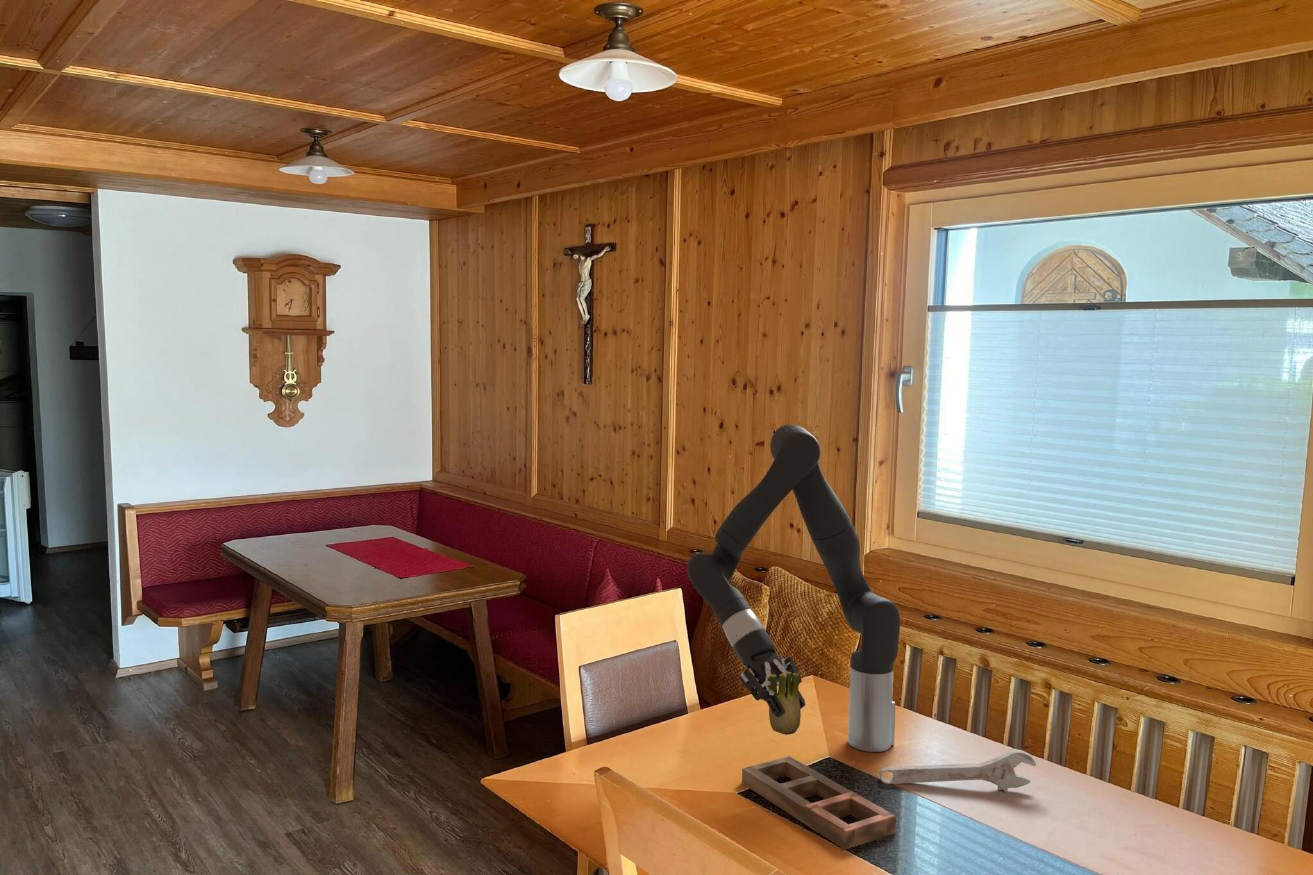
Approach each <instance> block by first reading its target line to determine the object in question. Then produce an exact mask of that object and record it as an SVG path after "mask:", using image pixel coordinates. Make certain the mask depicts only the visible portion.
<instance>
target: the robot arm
mask: <svg viewBox="0 0 1313 875" xmlns="http://www.w3.org/2000/svg"><path fill="white" fill-rule="evenodd" d="M769 445H770V447H769V448H770V454H771V456H772V458H773V462H772V463H771V465H770V467H769V469H768V470H767V472H766V474H765V475H764V477H763V478H762V479H761V480H760V482H759V483H758V484H757V485H756V486H755V487H754V488H753V489H752V490H751V491H750V492H749V493H748V494H747V495H745V496H744V497H743V498H742V499H740V501H739V502H738V503H736V505H735V507H733V509H732V510H731V511H730V512H729V514H728V516H726V518H725V519H724V520H723V522H722V524H721V525H720V526H719V528H718V529H717V531H716V533H715V535H714V539H715V542H716V545H715V547H714V549H713V550H712V552H711V553H706V552H701V553H696V554H694V555H692V556H691V558H690V559H689V561H688V563H687V565H686V566H687V567H686V570H687V576H688V579H689V581H690V583H691V584H692V587H693V588H694V590H696V592H697V593H698V594H699V595H700V596H701V598H702V599H703V600H704V601H705V603H706V604H707V605H708V607H710V608H711V609H712V612H713V613H714V615H715V617H716V619H717V620H718V623H720V625H721V628H722V629H723V632H724V633H725V636H726V638H727V640H728V642H729V644H730V645H731V647H732V649H733V651H734V652H735V654H736V655H737V658H738V659H739V662H741V664H742V666H743V667H746V668H745V669H744V670H743V671H742V672H741V673H740V674H739V675H738V678H739V680H740V681H741V683H742V684H743V685H744V686H745V688H746V689H747V690H748V693H749V694H751V696H752V697H753V698H754V700H755V701H761V700H762V701H763V702H766V703H767V705H768V708H769V707H770V709H771V710H772V712H773V714H774V715H776V717H780V716H782V715H783V714H784V713H785V710H784V708H783V706H782V705H781V703H780V701H779V700H778V698H777V696H776V695H774V691H773V688H772V686H771V682H770V675H772V674H775V675H776V678H777V687H778V686H779V676H780V674H782V673H783V674H785V675H786V672H791V681H792V675H793V673H797V674H799V675H800V673H799V670H798V668H797V665H796V662H795V661H794V659H793V657H792V656H790V655H788V656H787V657H786V658H781V657H780V656H779V655H778V654H777V653H776V650H775V648H776V647H775V646H776V645H775V644H774V642H773V641H772V639H771V637H770V636H769V634H768V632H767V631H766V629H765V627H764V626H763V624H762V622H761V621H760V619H759V617H758V616H757V614H755V613H754V611H753V610H752V608H751V606H750V605H749V604H748V601H747V600H746V598H745V596H744V595H743V594H742V593H741V591H740V590H739V589H737V588H736V587H734V586H732V584H731V583H730V582H729V581H730V580H731V579H732V578H733V575H734V574H735V571H736V569H737V567H738V565H739V563H740V561H741V559H742V556H743V553H744V551H745V550H746V549H747V547H748V546H749V545H750V543H751V542H752V541H753V540H754V538H755V536H756V535H757V534H758V532H759V531H760V529H761V528H762V527H763V525H764V524H765V523H766V521H767V520H768V519H769V517H770V516H771V515H772V513H773V512H774V511H775V510H776V508H778V506H779V505H780V504H781V503H782V501H783V500H784V499H785V498H786V497H787V496H788V495H789V494H790V493H791V491H792V492H793V494H794V496H795V500H796V502H797V505H798V508H799V512H800V513H801V516H802V519H803V521H804V525H805V527H806V529H807V532H808V534H809V536H810V538H811V541H812V543H813V545H814V548H815V549H816V551H817V553H818V555H819V558H820V560H821V561H822V563H823V566H824V568H825V570H826V572H827V574H828V576H829V578H830V579H831V582H832V584H833V587H834V589H835V592H836V594H837V597H838V600H839V603H840V607H841V609H842V613H843V615H844V618H845V620H846V623H847V624H848V626H849V627H850V628H851V629H852V630H853V631H855V632H856V633H858V634H860V635H862V636H861V637H862V638H861V646H860V649H858V650H855V651H853V652H852V653H851V654H850V661H849V662H850V664H849V695H848V696H849V700H848V701H849V702H848V735H847V736H848V737H847V738H848V740H847V742H848V745H849V746H850V747H852V748H854V749H857V750H859V751H864V752H869V753H881V752H885V751H888V750H889V749H890V748H891V746H893V745H895V737H896V736H895V732H896V729H895V728H896V727H895V726H896V706H897V704H896V703H895V701H893V691H894V689H893V687H894V664H895V662H896V659H897V656H898V652H899V642H900V632H901V615H900V611H899V609H898V607H897V605H896V604H895V603H894V602H893V601H891V600H890V599H888V598H885V597H883V596H879V595H878V594H875V593H874V592H873V590H872V588H871V587H870V585H869V584H868V582H867V579H866V578H865V575H864V574H863V571H862V568H861V567H862V566H861V545H860V539H859V536H858V533H857V531H856V529H855V527H854V525H853V523H852V519H851V518H850V517H849V514H848V512H847V510H846V509H845V507H844V505H843V503H842V502H841V501H840V499H839V497H838V496H837V494H836V493H835V491H834V490H833V488H832V487H831V486H830V484H829V483H828V480H826V479H827V478H825V475H824V474H823V471H822V468H821V466H820V463H819V460H820V457H821V445H820V443H819V441H818V440H817V439H816V437H815V436H814V435H813V434H811V432H809V431H808V430H807V429H805V428H804V427H802V426H800V425H796V424H784V425H782V426H779V427H778V428H777V429H776V430H775V432H773V435H772V436H771V440H770V444H769ZM802 682H803V680H802V677H801V676H800V677H799V685H800V684H801V683H802ZM785 689H786V685H785ZM798 696H799V703H800V710H802V709H803V708H804V707H805V706H806V700H805V698H804V697H803V695H802V693H801V692H800V690H799V689H798Z"/></svg>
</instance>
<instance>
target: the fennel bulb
mask: <svg viewBox="0 0 1313 875" xmlns="http://www.w3.org/2000/svg"><path fill="white" fill-rule="evenodd" d="M799 677H801V675H800V673H799V674H797V673H793V675H792V681H791V672H786V675H785V674H783V673H782V674H780V676H779V686H778V685H777V678H776V675H775V674H772V675H770V682H771V686H772V688H773V691H774V695H776V696H777V698H778V700H779V701H780V703H781V705H782V706H783V708H784V710H785V713H784V714H783V715H782V716H780V717H776V715H774V714H773V712H772V710H771V709H770V707H769V706H768V715H769V724H770V727H771V729H772V730H773V732H776V733H778V734H782V735H785V736H788V735H793V734H796V733H797V731H798V730H799V729H800V726H801V717H802V716H801V715H802V713H801V712H802V711H801V710H802V709H800V703H799V696H798V690H799V686H800V684H799ZM785 685H786V689H785Z"/></svg>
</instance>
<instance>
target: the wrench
mask: <svg viewBox="0 0 1313 875" xmlns="http://www.w3.org/2000/svg"><path fill="white" fill-rule="evenodd" d="M1021 763H1024V764H1027V765H1030V766H1033V767H1034V768H1035V767H1036V766H1037V763H1036V761H1035V759H1034V758H1033V756H1032V755H1031V754H1030V753H1028V752H1026V751H1024V750H1023V749H1010V750H1008V751H1007V752H1004V753H1002V754H1001V755H998V756H996V757H994V758H992V759H989V760H985V761H982V762H980V763H962V764H961V763H957V764H956V763H955V764H953V763H952V764H931V765H928V764H926V765H925V764H924V765H923V764H922V765H902V766H900V765H899V766H894V765H893V766H884V767H882V768H880V771H879V780H880V782H882V783H883V784H889V785H900V784H901V785H902V784H915V783H916V784H917V783H936V782H937V783H938V782H955V781H956V782H957V781H958V782H959V781H962V782H963V781H984V782H989V783H991V784H993V785H996V786H997V788H996V789H997V790H998V791H1000V790H1002V791H1003V792H1004V793H1007V792H1008V789H1018V788H1021V787H1024V786H1025V787H1026V785H1029V784H1030V783H1031V779H1030V778H1029V777H1027V776H1024V775H1022V774H1018V773H1017V774H1016V772H1015V768H1017V767H1018V766H1019V765H1020V764H1021ZM885 772H888V773H891V774H892V777H891V778H889V779H886V778H884V776H882V775H883V774H884V773H885Z"/></svg>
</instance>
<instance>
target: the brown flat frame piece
mask: <svg viewBox="0 0 1313 875" xmlns="http://www.w3.org/2000/svg"><path fill="white" fill-rule="evenodd" d="M741 771H742V772H741V783H742V784H743V785H744V786H746V787H747V788H749V789H750V790H752V791H753V792H755V793H757V794H758V795H760V796H761V797H762V798H764V799H766V800H767V801H769V802H770V803H772V804H773V805H775V806H777V807H778V808H780V809H781V810H783V811H784V812H786V813H787V814H789V815H790V816H791V817H793V818H795V819H796V820H798V821H800V822H801V823H803V824H804V825H806V826H807V827H809V828H810V829H812V830H813V831H815V832H816V833H818V834H819V833H820V835H821V836H822V835H823V837H824V838H825V837H826V838H825V839H827V838H828V839H829V840H828V839H827V840H828V841H830V840H831V841H832V842H831V841H830V842H831V843H833V842H834V843H835V845H836V844H837V845H836V846H838V847H839V846H840V847H839V848H841V847H842V848H843V849H842V848H841V849H842V850H844V849H847V850H850V849H852V848H851V847H853V848H855V846H856V847H858V845H859V846H862V845H865V844H867V843H870V842H873V841H876V840H880V839H883V838H886V837H889V836H892V835H895V834H896V833H897V832H896V831H897V830H896V828H897V816H896V815H895V814H893V813H892V812H890V811H887V810H886V809H885V808H883V807H881V806H879V805H878V804H876V803H873V802H872V801H871V800H869V799H866V798H865V797H863V796H862V795H860V794H858V793H856V792H854V791H851V790H850V789H848V788H846V787H844V786H843V785H841V784H839V783H838V782H835V781H834V780H832V779H831V778H828V777H827V776H825V775H823V774H822V773H820V772H818V771H816V770H815V769H813V768H812V767H809V766H808V765H806V764H805V763H802V762H801V761H799V760H798V759H796V758H793V757H792V756H791V755H789V756H786V757H782V758H779V759H778V758H777V759H774V760H770V761H765V762H762V763H758V764H754V765H750V766H746V767H742V769H741ZM784 777H787V778H788V779H791V780H789V781H786V782H782V783H779V782H778V781H777V780H776V779H780V778H784ZM812 796H818V797H821V798H822V800H819V801H815V802H810V801H809V800H807V799H806V798H809V797H812ZM848 816H852V817H853V818H856V820H858V821H855V822H853V823H847V822H845V821H844V820H843V819H841V818H844V817H848ZM834 843H833V844H834ZM849 848H850V849H849Z"/></svg>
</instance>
